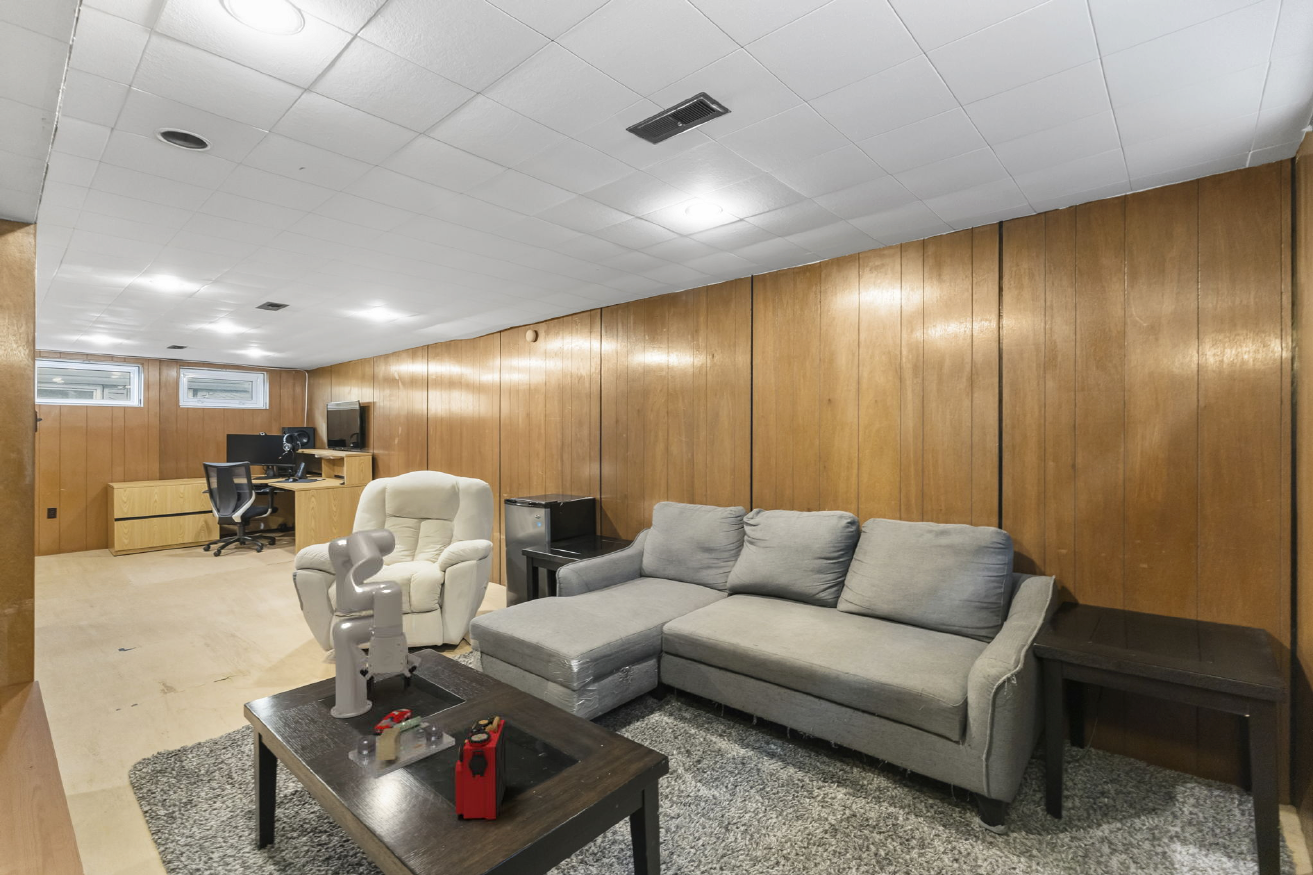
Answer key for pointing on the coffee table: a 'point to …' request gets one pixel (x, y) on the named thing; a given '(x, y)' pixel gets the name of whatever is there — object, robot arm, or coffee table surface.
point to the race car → (393, 720)
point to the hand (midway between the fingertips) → (389, 690)
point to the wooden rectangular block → (389, 744)
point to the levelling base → (402, 747)
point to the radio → (482, 770)
